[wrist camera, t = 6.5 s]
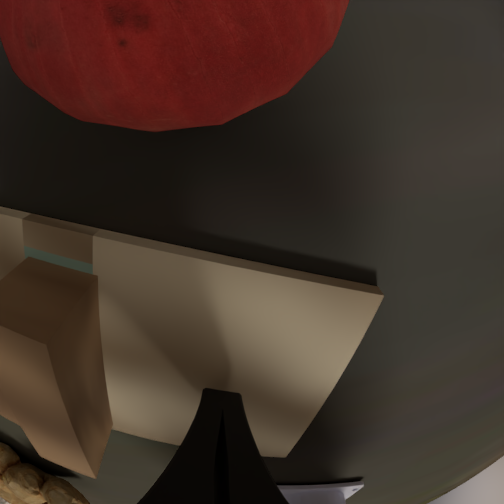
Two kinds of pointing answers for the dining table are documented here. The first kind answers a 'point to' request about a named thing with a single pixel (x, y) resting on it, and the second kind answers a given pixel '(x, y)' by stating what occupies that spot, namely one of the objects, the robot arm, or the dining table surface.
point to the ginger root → (32, 483)
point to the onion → (165, 55)
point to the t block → (54, 363)
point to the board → (203, 328)
